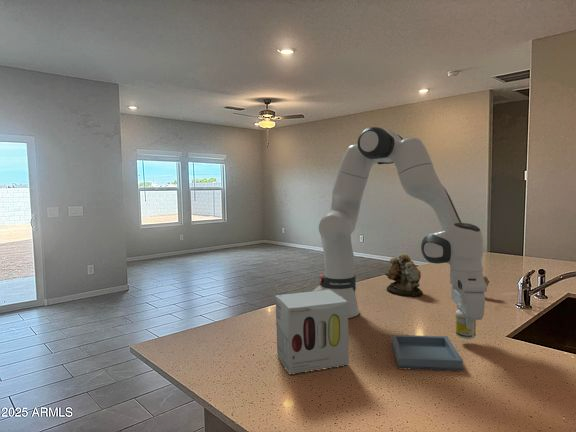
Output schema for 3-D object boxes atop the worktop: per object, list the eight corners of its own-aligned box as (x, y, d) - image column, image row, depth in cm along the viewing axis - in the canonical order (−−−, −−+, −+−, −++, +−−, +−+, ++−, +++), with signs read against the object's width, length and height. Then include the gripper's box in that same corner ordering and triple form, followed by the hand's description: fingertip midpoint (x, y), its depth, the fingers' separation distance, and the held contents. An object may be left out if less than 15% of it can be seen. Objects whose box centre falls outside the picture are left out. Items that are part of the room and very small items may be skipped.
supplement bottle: (465, 331, 120) (465, 300, 119) (479, 337, 115) (480, 305, 114) (451, 334, 118) (451, 302, 117) (465, 340, 113) (465, 307, 112)
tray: (398, 368, 102) (398, 358, 102) (391, 343, 118) (391, 334, 118) (462, 371, 100) (462, 360, 99) (447, 345, 115) (447, 336, 115)
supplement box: (289, 377, 100) (287, 308, 98) (276, 355, 113) (274, 294, 111) (350, 366, 105) (349, 300, 103) (331, 346, 118) (330, 288, 116)
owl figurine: (378, 291, 176) (377, 253, 174) (394, 286, 183) (393, 250, 182) (413, 298, 162) (413, 258, 160) (429, 293, 169) (428, 254, 168)
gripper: (446, 270, 126) (445, 312, 127) (464, 287, 105) (464, 336, 107) (466, 270, 125) (466, 312, 126) (489, 287, 104) (488, 337, 106)
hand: (465, 323), depth 116 cm, fingers closed on supplement bottle, 5 cm apart
